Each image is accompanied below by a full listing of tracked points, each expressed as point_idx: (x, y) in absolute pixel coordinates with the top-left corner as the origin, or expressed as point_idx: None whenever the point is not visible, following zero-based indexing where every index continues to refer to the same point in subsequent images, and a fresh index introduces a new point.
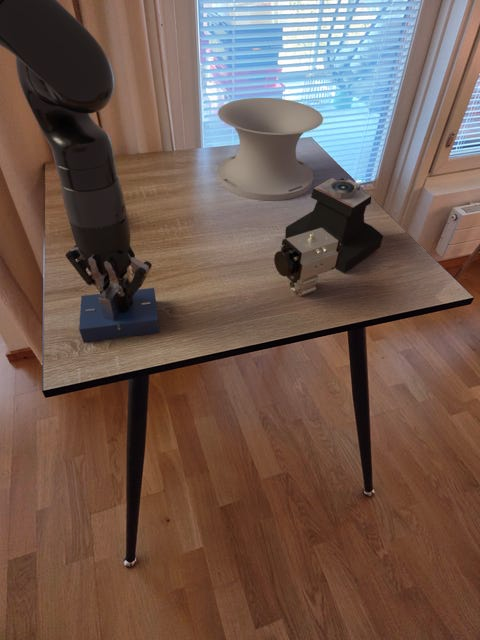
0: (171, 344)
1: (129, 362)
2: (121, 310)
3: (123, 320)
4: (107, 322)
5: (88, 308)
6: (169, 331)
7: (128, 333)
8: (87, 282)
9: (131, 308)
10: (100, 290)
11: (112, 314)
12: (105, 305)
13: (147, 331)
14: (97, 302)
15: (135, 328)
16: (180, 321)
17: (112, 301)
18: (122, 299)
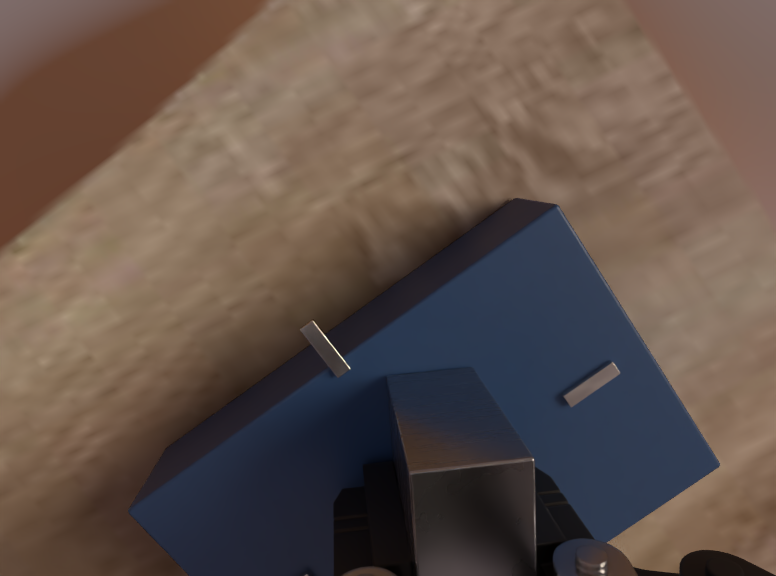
0: (47, 403)
1: (180, 182)
2: (383, 467)
3: (331, 403)
4: (420, 341)
5: (613, 392)
6: (121, 480)
7: (303, 357)
8: (731, 568)
9: None
10: (575, 543)
11: (394, 397)
12: (453, 427)
13: (214, 419)
14: (590, 462)
15: (260, 396)
16: (112, 568)
17: (406, 484)
18: (370, 545)
